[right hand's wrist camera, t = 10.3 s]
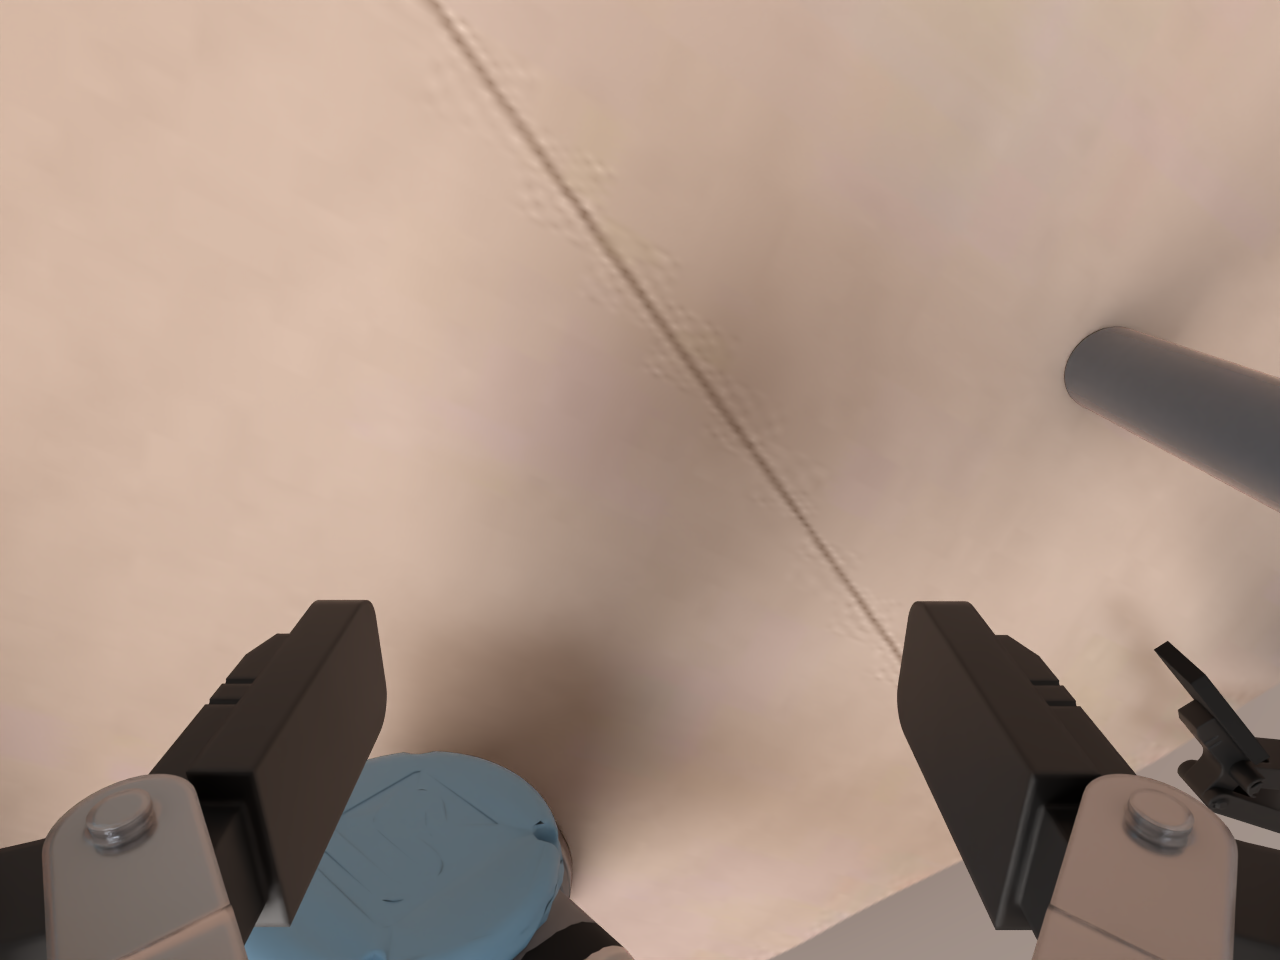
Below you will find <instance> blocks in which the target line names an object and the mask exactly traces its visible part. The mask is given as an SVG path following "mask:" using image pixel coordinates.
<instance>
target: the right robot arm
mask: <svg viewBox="0 0 1280 960" xmlns="http://www.w3.org/2000/svg"><path fill="white" fill-rule="evenodd" d="M386 701H387V690H386V681H385V675H384V668H383V661H382V654H381V648H380V641H379V634H378V628H377V621H376V615H375V610H374V607H373V605H372V603H371V602H370V601H368V600H317V601H315V602H314V603H313V604H312V605H311V606H310V607H309V609H308V610H307V611H306V613H305V614H304V615H303V617H302V618H301V619H300V621H299V622H298V623H297V624H296V626H295V627H294V628H293V630H292V631H291V632H290V634H276V635H274V636H273V637H271V638H270V639H268V640H267V641H265V642H264V643H262V644H261V645H259V646H258V647H256V648H255V649H253V650H252V651H250V652H249V653H247V654H246V655H245V656H244V657H243V659H242V660H241V661H240V662H239V664H238V665H237V666H236V667H235V669H234V670H233V671H232V672H231V673H230V675H229V676H228V677H227V678H226V684H222V685H221V686H220V687H219V688H218V689H217V691H216V692H215V693H214V694H213V696H212V697H211V698H210V703H209V704H205V705H204V707H203V708H202V709H201V710H200V712H199V713H198V714H197V715H196V717H195V718H194V719H193V720H192V721H191V723H190V724H189V725H188V726H187V728H186V729H185V730H184V731H183V733H182V734H181V735H180V736H179V737H178V739H177V740H176V741H175V742H174V744H173V745H172V746H171V747H170V749H169V750H168V751H167V752H166V753H165V755H164V756H163V757H162V758H161V760H160V761H159V762H158V763H157V765H156V766H155V767H154V768H153V769H152V771H151V772H150V773H149V774H148V775H143V776H138V777H134V778H129V779H126V780H123V781H120V782H117V783H115V784H112V785H110V786H108V787H105V788H103V789H101V790H99V791H97V792H95V793H93V794H92V795H90V796H88V797H87V798H85V799H84V800H82V801H80V802H79V803H78V804H76V805H75V806H74V807H72V808H71V809H70V810H68V811H67V812H66V813H65V814H64V815H63V816H62V817H61V818H60V819H59V820H58V821H57V822H56V824H55V825H54V826H53V827H52V828H51V830H50V832H49V833H48V835H47V837H46V838H45V839H41V840H37V841H32V842H28V843H24V844H19V845H15V846H11V847H6V848H2V849H0V960H248V957H247V954H246V950H245V947H244V946H245V944H246V942H247V940H248V938H249V936H250V934H251V932H252V930H253V928H254V927H290V926H291V924H292V921H293V919H294V917H295V915H296V913H297V911H298V908H299V906H300V904H301V902H302V900H303V898H304V895H305V893H306V891H307V889H308V887H309V885H310V882H311V880H312V878H313V876H314V874H315V872H316V869H317V867H318V865H319V863H320V861H321V859H322V856H323V854H324V852H325V850H326V848H327V846H328V843H329V841H330V839H331V837H332V835H333V833H334V830H335V828H336V826H337V824H338V822H339V820H340V817H341V815H342V813H343V811H344V809H345V807H346V805H347V802H348V800H349V798H350V796H351V794H352V792H353V789H354V787H355V785H356V783H357V781H358V779H359V776H360V774H361V772H362V770H363V768H364V766H365V763H366V761H367V759H368V757H369V755H370V753H371V750H372V748H373V746H374V744H375V742H376V740H377V737H378V735H379V733H380V731H381V728H382V725H383V721H384V717H385V711H386ZM897 705H898V714H899V719H900V724H901V727H902V730H903V732H904V735H905V737H906V739H907V741H908V743H909V745H910V748H911V750H912V752H913V754H914V756H915V758H916V760H917V763H918V765H919V767H920V769H921V771H922V773H923V775H924V778H925V780H926V782H927V784H928V786H929V788H930V790H931V793H932V795H933V797H934V799H935V801H936V803H937V805H938V807H939V810H940V812H941V814H942V816H943V818H944V820H945V822H946V825H947V827H948V829H949V831H950V833H951V835H952V837H953V840H954V842H955V844H956V846H957V848H958V850H959V852H960V855H961V857H962V859H963V861H964V863H965V865H966V867H967V869H968V872H969V874H970V876H971V878H972V880H973V882H974V884H975V886H976V889H977V891H978V893H979V895H980V897H981V899H982V902H983V904H984V906H985V908H986V910H987V912H988V914H989V917H990V919H991V921H992V923H993V925H994V927H995V929H996V930H1032V931H1033V933H1034V935H1035V937H1036V939H1037V944H1036V947H1035V950H1034V954H1033V957H1032V960H1280V850H1277V849H1272V848H1268V847H1264V846H1260V845H1255V844H1251V843H1247V842H1243V841H1239V840H1236V839H1234V837H1233V835H1232V833H1231V832H1230V830H1229V829H1228V827H1227V826H1226V825H1225V824H1224V822H1223V821H1222V820H1221V819H1220V818H1219V817H1218V816H1217V815H1216V814H1215V813H1214V812H1213V811H1212V810H1210V809H1209V808H1208V807H1206V806H1205V805H1204V804H1202V803H1201V802H1200V801H1198V800H1196V799H1195V798H1193V797H1192V796H1190V795H1188V794H1187V793H1185V792H1183V791H1181V790H1179V789H1177V788H1175V787H1172V786H1170V785H1168V784H1165V783H1163V782H1160V781H1157V780H1154V779H1150V778H1146V777H1142V776H1137V775H1136V774H1135V773H1134V771H1133V770H1132V769H1131V768H1130V767H1129V765H1128V764H1127V763H1126V762H1125V760H1124V759H1123V758H1122V757H1121V756H1120V754H1119V753H1118V752H1117V751H1116V749H1115V748H1114V747H1113V746H1112V745H1111V743H1110V742H1109V741H1108V740H1107V738H1106V737H1105V736H1104V735H1103V734H1102V732H1101V731H1100V730H1099V729H1098V727H1097V726H1096V725H1095V724H1094V723H1093V721H1092V720H1091V719H1090V718H1089V716H1088V715H1087V714H1086V713H1085V712H1084V710H1083V709H1082V708H1081V707H1080V706H1076V701H1075V699H1074V698H1073V697H1072V696H1071V695H1070V693H1069V692H1068V691H1067V690H1066V688H1065V687H1064V686H1060V685H1059V680H1058V679H1057V677H1056V676H1055V675H1054V674H1053V673H1052V671H1051V670H1050V669H1049V668H1048V666H1047V665H1046V664H1045V663H1044V662H1043V660H1042V659H1041V658H1040V657H1039V656H1038V655H1037V654H1035V653H1034V652H1032V651H1031V650H1029V649H1028V648H1026V647H1025V646H1023V645H1022V644H1020V643H1019V642H1017V641H1016V640H1014V639H1013V638H1011V637H1010V636H1008V635H995V634H994V633H993V632H992V630H991V629H990V628H989V626H988V625H987V624H986V622H985V621H984V620H983V618H982V617H981V616H980V615H979V613H978V612H977V611H976V609H975V608H974V607H973V606H972V604H970V603H969V602H966V601H917V602H915V603H914V604H913V605H912V607H911V609H910V612H909V616H908V622H907V629H906V636H905V642H904V649H903V655H902V662H901V669H900V675H899V682H898V690H897Z"/></svg>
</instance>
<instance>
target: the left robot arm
mask: <svg viewBox="0 0 1280 960" xmlns="http://www.w3.org/2000/svg"><path fill="white" fill-rule="evenodd" d="M1154 651H1155V652H1156V653H1157V654H1158V655H1159V657H1160V658H1161V659H1162V660H1163V662H1164V663H1165V664H1166V665H1167V667H1168V668H1169V669H1170V670H1171V672H1172V673H1173V674H1174V675H1175V677H1176V678H1177V679H1178V680H1179V681H1180V683H1181V684H1182V685H1183V686H1184V688H1185V689H1186V690H1187V691H1188V693H1189V694H1190V695H1191V696H1192V698H1193V699H1194V700H1193V701H1192V702H1190V703H1188V704H1187V705H1185V706H1184V707H1182V708H1180V709H1179V710H1178V713H1179V718H1180V719H1181V721H1182V722H1183V723H1184V724H1185V725H1186V727H1187V728H1188V729H1189V730H1190V732H1191V733H1192V734H1193V735H1194V736H1195V738H1196V739H1197V740H1198V741H1199V742H1200V744H1201V745H1202V747H1203V754H1202V756H1201V757H1200V759H1199V760H1198V761H1197V760H1188V761H1185V762H1183V763H1182V764H1181V765H1180V766H1179V768H1178V774H1179V776H1180V777H1181V778H1182V779H1183V780H1184V781H1185V782H1186V783H1187V784H1188V786H1189V787H1190V788H1191V789H1192V790H1193V791H1194V792H1195V794H1196V795H1197V796H1198V797H1199V798H1200V799H1201V800H1202V801H1203V803H1204V804H1205V805H1206V806H1207V807H1208V808H1209V809H1210V810H1212V811H1213V812H1214V813H1217V814H1221V815H1224V816H1227V817H1230V818H1233V819H1236V820H1240V821H1243V822H1246V823H1249V824H1252V825H1255V826H1258V827H1261V828H1265V829H1268V830H1271V831H1274V832H1277V833H1280V740H1277V739H1267V738H1257V737H1254V736H1253V734H1252V733H1251V732H1250V731H1249V729H1248V728H1247V727H1246V726H1245V724H1244V723H1243V722H1242V721H1241V719H1240V718H1239V717H1238V715H1237V714H1236V713H1235V712H1234V710H1233V709H1232V708H1231V707H1230V705H1229V704H1228V703H1227V701H1226V700H1225V699H1224V698H1223V696H1222V695H1221V694H1220V693H1219V691H1218V690H1217V689H1216V687H1215V686H1214V685H1213V684H1212V682H1211V681H1210V680H1209V679H1208V677H1207V676H1206V675H1205V674H1204V673H1203V672H1202V671H1201V670H1200V669H1199V668H1197V667H1196V666H1195V665H1194V664H1193V663H1192V662H1191V661H1190V660H1188V659H1187V658H1186V657H1185V656H1184V655H1183V654H1182V653H1181V652H1180V651H1178V650H1177V649H1176V648H1175V647H1174V646H1173V645H1172V644H1171V643H1169V642H1168V641H1167V642H1165V643H1164V644H1162V645H1161V646H1159V647H1157V648H1156V649H1154ZM571 878H572V862H571V857H570V852H569V849H568V846H567V844H566V841H565V839H564V837H563V835H562V834H561V832H560V831H559V829H558V827H557V825H556V822H555V819H554V817H553V815H552V812H551V810H550V808H549V807H548V805H547V804H546V802H545V801H544V799H543V798H542V797H541V795H540V794H539V793H538V792H537V791H536V790H535V789H534V788H533V787H532V786H531V785H530V784H529V783H527V782H526V781H525V780H524V779H522V778H521V777H520V776H518V775H517V774H515V773H513V772H512V771H510V770H508V769H506V768H504V767H502V766H500V765H498V764H496V763H493V762H490V761H488V760H485V759H482V758H478V757H474V756H470V755H465V754H459V753H451V752H442V751H433V752H430V753H424V754H409V753H404V752H403V753H397V754H391V755H386V756H380V757H376V758H372V759H368V760H367V761H366V763H365V766H364V768H363V770H362V772H361V774H360V776H359V779H358V781H357V783H356V785H355V787H354V789H353V792H352V794H351V796H350V798H349V800H348V802H347V805H346V807H345V809H344V811H343V813H342V815H341V817H340V820H339V822H338V824H337V826H336V828H335V830H334V833H333V835H332V837H331V839H330V841H329V843H328V846H327V848H326V850H325V852H324V854H323V856H322V859H321V861H320V863H319V865H318V867H317V869H316V872H315V874H314V876H313V878H312V880H311V882H310V885H309V887H308V889H307V891H306V893H305V895H304V898H303V900H302V902H301V904H300V906H299V908H298V911H297V913H296V915H295V917H294V919H293V921H292V924H291V926H290V927H254V928H253V930H252V932H251V934H250V936H249V938H248V940H247V942H246V944H245V946H244V947H245V950H246V954H247V957H248V960H634V959H633V957H632V956H631V955H630V954H629V952H628V951H627V950H626V949H625V948H624V947H623V946H622V945H620V944H619V943H618V942H617V941H616V940H615V939H614V938H613V937H612V936H610V935H609V934H608V933H607V932H606V931H605V930H604V929H603V928H602V927H600V926H599V925H598V924H597V923H596V922H595V921H594V920H593V919H591V918H590V917H589V916H588V915H587V914H586V913H585V912H584V911H583V910H582V909H580V908H579V907H578V906H577V905H576V904H575V903H574V902H573V901H572V900H570V899H569V898H570V889H571Z"/></svg>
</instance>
